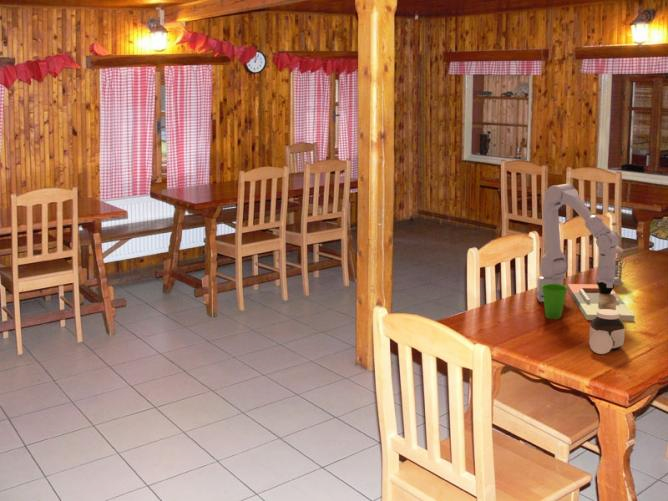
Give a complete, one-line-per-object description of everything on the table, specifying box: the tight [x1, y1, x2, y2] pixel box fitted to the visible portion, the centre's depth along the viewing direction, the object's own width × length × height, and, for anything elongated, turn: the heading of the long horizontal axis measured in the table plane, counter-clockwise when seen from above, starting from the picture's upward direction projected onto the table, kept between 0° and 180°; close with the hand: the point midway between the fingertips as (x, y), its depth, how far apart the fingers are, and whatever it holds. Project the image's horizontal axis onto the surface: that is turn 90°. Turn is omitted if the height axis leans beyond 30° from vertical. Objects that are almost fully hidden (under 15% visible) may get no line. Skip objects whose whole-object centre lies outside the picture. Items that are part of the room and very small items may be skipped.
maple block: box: [598, 294, 617, 310], centre depth 295 cm, size 5×5×5 cm
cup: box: [541, 284, 568, 320], centre depth 293 cm, size 9×9×11 cm
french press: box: [598, 221, 627, 286], centre depth 338 cm, size 10×12×25 cm
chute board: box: [566, 283, 636, 322], centre depth 310 cm, size 16×42×4 cm, turn 174°
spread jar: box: [588, 309, 626, 355], centre depth 259 cm, size 12×11×12 cm
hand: (604, 302), depth 300 cm, fingers closed
